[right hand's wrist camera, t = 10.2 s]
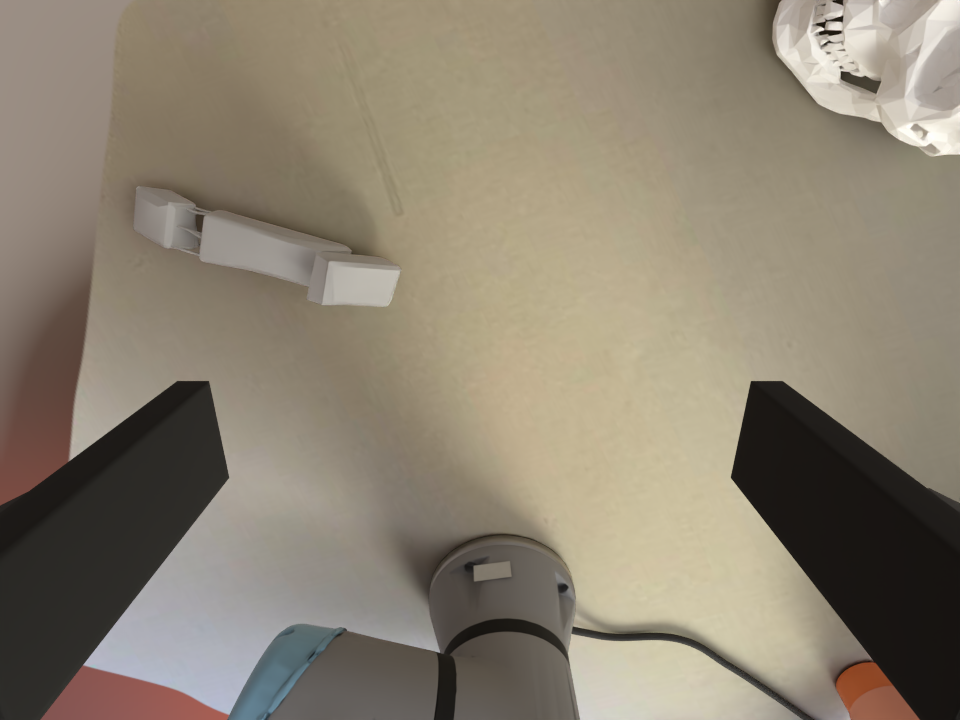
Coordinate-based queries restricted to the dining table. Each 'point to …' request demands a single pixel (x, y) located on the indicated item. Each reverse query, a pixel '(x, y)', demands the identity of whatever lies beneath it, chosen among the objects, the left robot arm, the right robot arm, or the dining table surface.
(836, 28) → the skull
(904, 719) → the cup with straw
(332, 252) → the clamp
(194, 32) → the dining table surface
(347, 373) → the dining table surface
